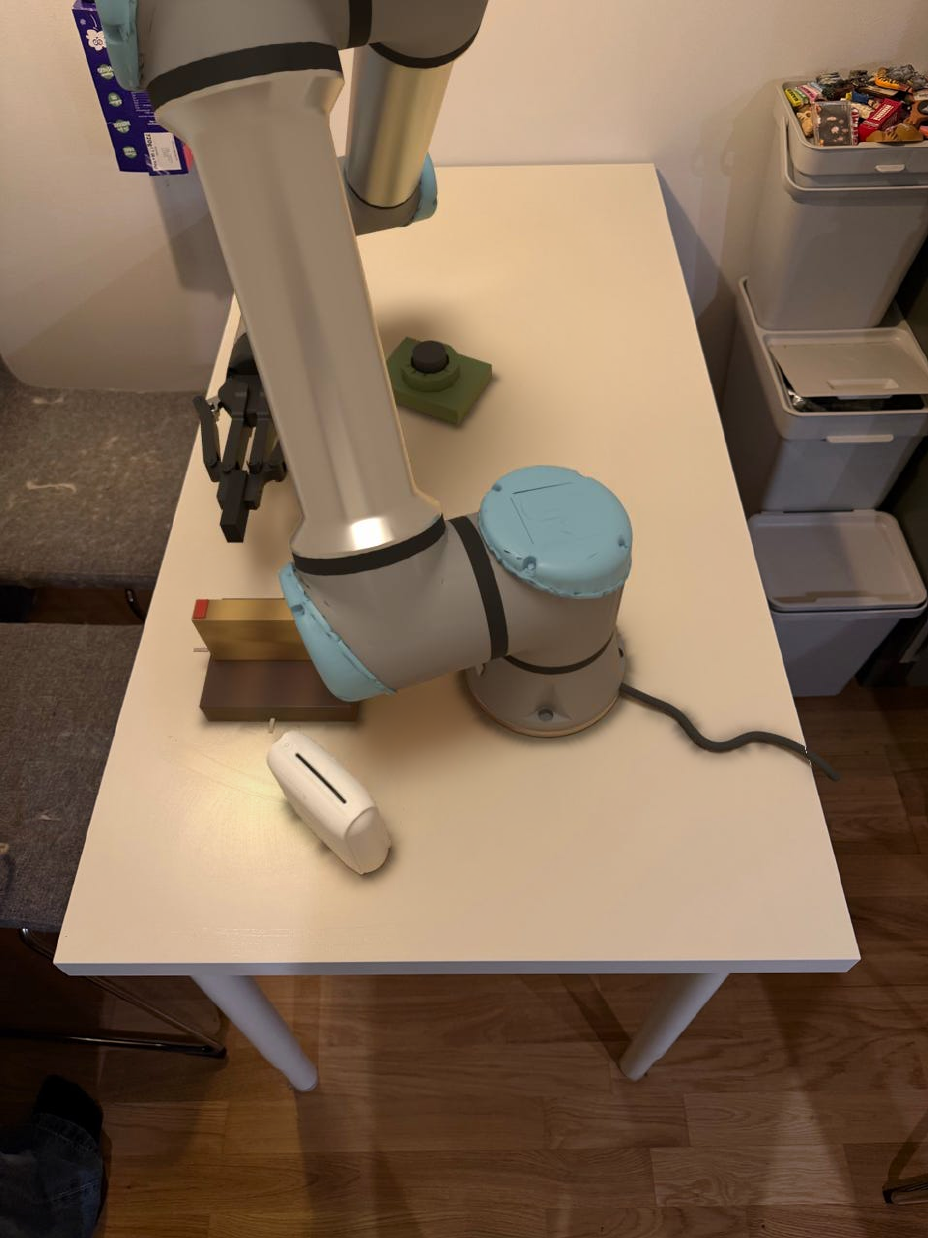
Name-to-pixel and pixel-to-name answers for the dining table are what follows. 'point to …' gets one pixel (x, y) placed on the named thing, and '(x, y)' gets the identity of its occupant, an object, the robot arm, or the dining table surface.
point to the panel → (269, 691)
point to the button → (429, 357)
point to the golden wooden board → (248, 629)
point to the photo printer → (330, 801)
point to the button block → (437, 383)
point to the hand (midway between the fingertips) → (231, 533)
